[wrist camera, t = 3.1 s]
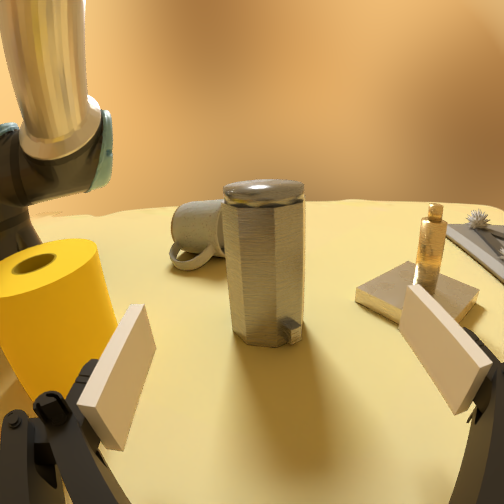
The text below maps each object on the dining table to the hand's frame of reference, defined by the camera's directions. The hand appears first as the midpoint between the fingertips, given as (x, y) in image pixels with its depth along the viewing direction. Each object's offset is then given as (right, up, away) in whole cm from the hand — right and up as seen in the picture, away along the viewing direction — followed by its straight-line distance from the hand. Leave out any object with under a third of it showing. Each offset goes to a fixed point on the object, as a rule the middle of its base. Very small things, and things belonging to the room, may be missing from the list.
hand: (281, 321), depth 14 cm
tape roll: (-16, -6, +6) cm, 18 cm away
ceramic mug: (-8, +2, +28) cm, 29 cm away
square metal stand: (+16, -2, +13) cm, 20 cm away
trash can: (0, -3, +12) cm, 12 cm away
